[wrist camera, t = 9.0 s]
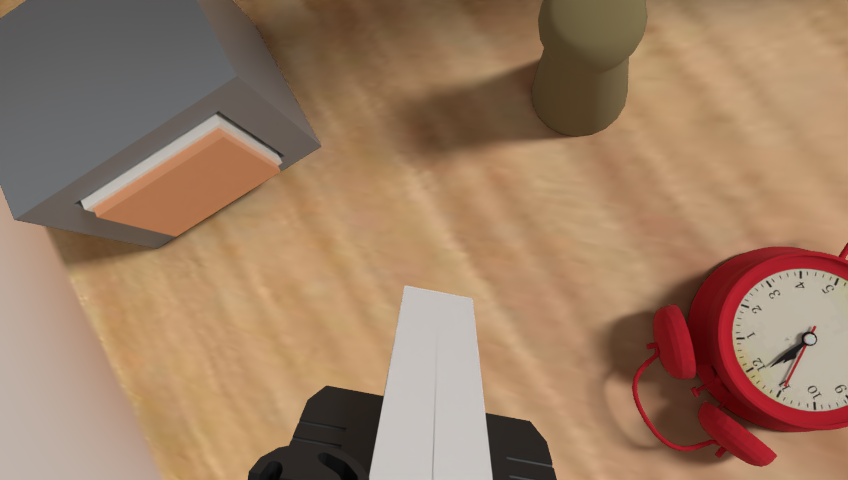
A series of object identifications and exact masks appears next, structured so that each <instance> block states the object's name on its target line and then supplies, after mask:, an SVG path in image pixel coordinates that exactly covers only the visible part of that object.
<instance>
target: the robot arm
mask: <svg viewBox="0 0 848 480" xmlns="http://www.w3.org/2000/svg"><path fill="white" fill-rule="evenodd" d="M248 480H557V479H556V475H555V471H554V468H552V460H551V456H550V452H549V449H548V445H547V442H546V440H545V439H544V438H543V437H542V435H541V434H540V433H539V432H538V431H537V429H536V428H535V427H534V426H533V424H532V423H531V422H530V421H526V420H521V419H515V418H510V417H505V416H499V415H494V414H488V413H485V407H484V398H483V389H482V380H481V371H480V362H479V353H478V344H477V335H476V326H475V317H474V308H473V299H472V298H469V297H463V296H458V295H453V294H448V293H442V292H437V291H432V290H427V289H421V288H416V287H411V286H405V287H404V292H403V297H402V303H401V308H400V313H399V318H398V323H397V329H396V334H395V339H394V344H393V349H392V355H391V360H390V365H389V370H388V375H387V381H386V386H385V391H384V396H380V395H375V394H369V393H364V392H359V391H353V390H348V389H342V388H337V387H332V386H325V387H324V388H323V389H321V390H320V391H319V392H317V393H316V394H315V395H313V396H312V397H311V398H310V399H308V401H307V403H306V405H305V408H304V410H303V413H302V415H301V418H300V421H299V423H298V425H297V427H296V430H295V432H294V435H293V438H292V440H291V442H290V444H289V446H285V447H280V448H277V449H275V450H274V451H272V452H270V453H268V454H266V455H264V456H262V457H261V458H260V459H259V460H258V461H257V462H256V464H255V465H254V466H253V467H252V469H251V470H250V471H249V475H248Z"/></svg>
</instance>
